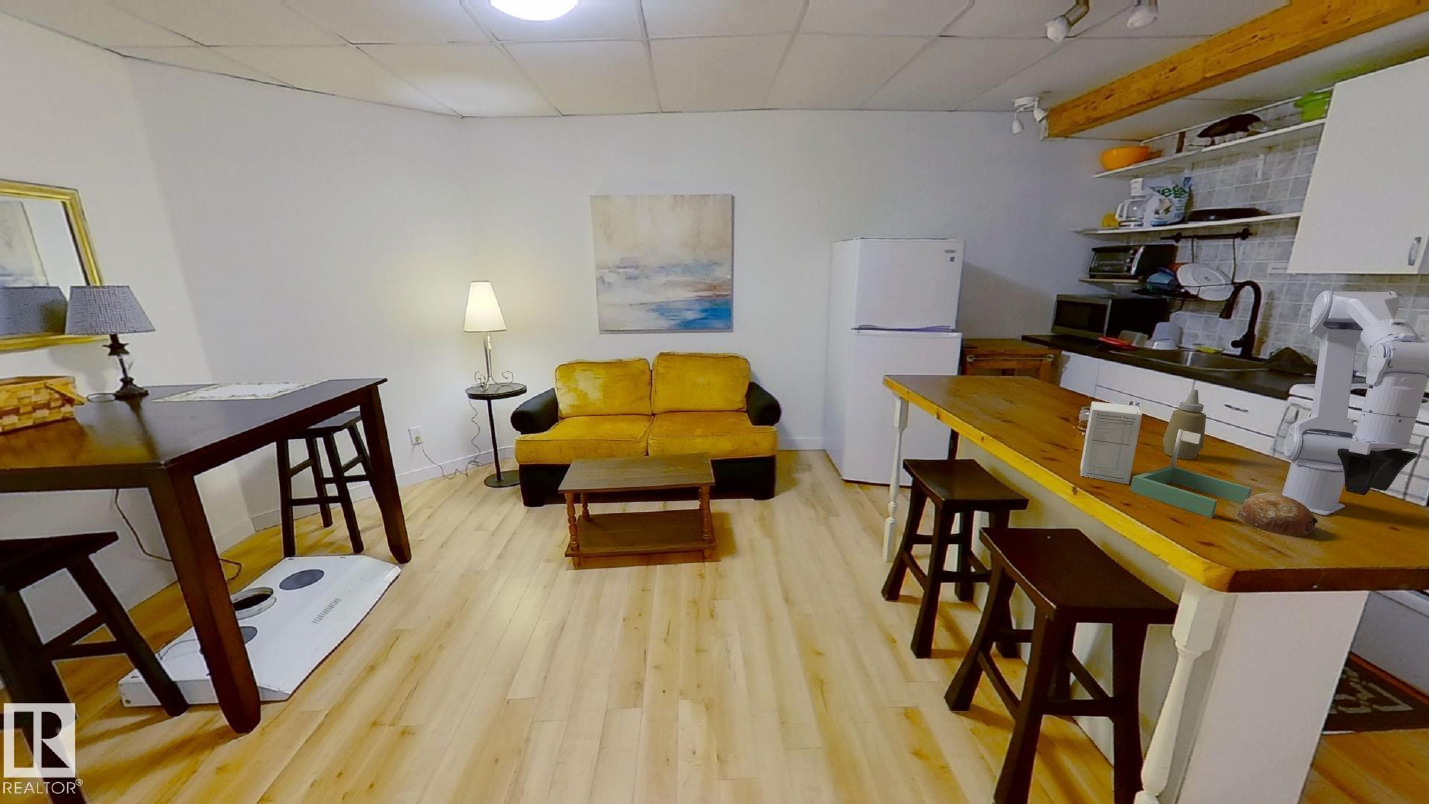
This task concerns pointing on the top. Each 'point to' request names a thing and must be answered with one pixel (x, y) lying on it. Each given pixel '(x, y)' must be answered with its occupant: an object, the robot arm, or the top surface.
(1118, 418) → the supplement box
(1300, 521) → the bread roll
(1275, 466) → the top surface
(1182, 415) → the squeeze bottle
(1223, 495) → the teal shallow tray
